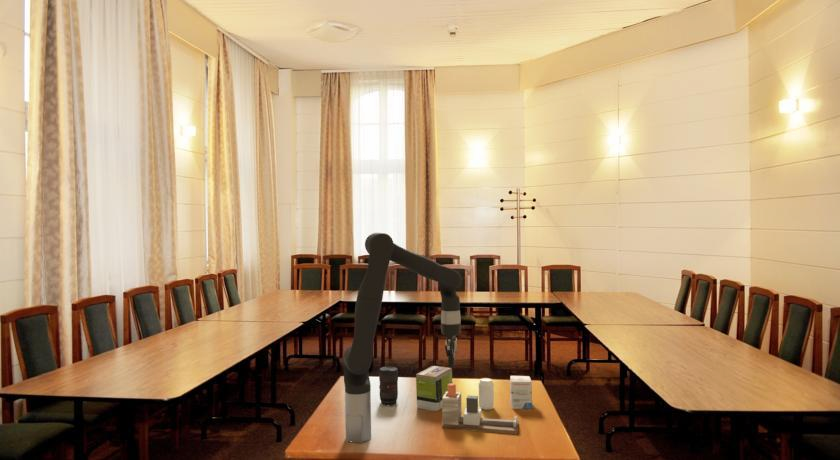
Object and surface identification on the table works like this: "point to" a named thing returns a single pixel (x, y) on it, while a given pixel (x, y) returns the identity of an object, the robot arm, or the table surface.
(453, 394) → the cylinder
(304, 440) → the table surface
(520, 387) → the ink box
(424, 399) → the tea box
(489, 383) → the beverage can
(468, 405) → the carriage
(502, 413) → the table surface
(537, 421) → the table surface
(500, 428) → the rail board
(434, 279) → the robot arm
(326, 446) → the table surface
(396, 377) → the camera lens
